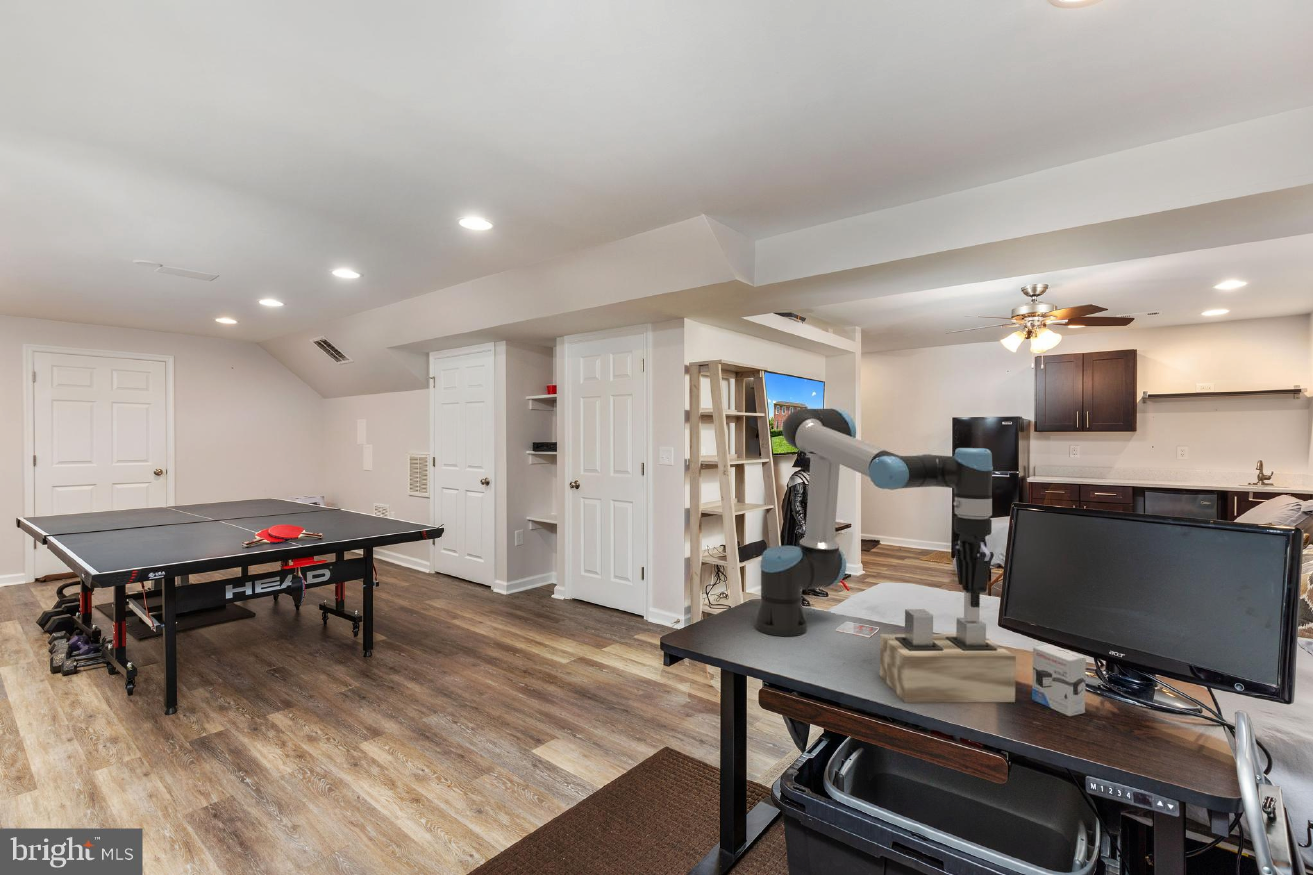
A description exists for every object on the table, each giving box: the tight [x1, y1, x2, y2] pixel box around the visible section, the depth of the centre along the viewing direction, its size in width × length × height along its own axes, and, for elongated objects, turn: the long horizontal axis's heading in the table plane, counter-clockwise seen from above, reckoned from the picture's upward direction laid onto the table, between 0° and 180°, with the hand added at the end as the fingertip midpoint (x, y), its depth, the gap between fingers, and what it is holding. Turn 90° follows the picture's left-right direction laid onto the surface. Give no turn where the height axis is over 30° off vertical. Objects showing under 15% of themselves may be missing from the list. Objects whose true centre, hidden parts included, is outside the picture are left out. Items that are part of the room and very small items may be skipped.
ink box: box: [1031, 644, 1087, 717], centre depth 129 cm, size 8×5×12 cm, turn 21°
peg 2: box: [955, 617, 987, 647], centre depth 137 cm, size 4×4×9 cm
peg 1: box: [904, 608, 934, 647], centre depth 137 cm, size 4×4×9 cm
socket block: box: [879, 633, 1017, 704], centre depth 137 cm, size 14×24×10 cm, turn 91°
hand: (971, 619), depth 137 cm, fingers closed
